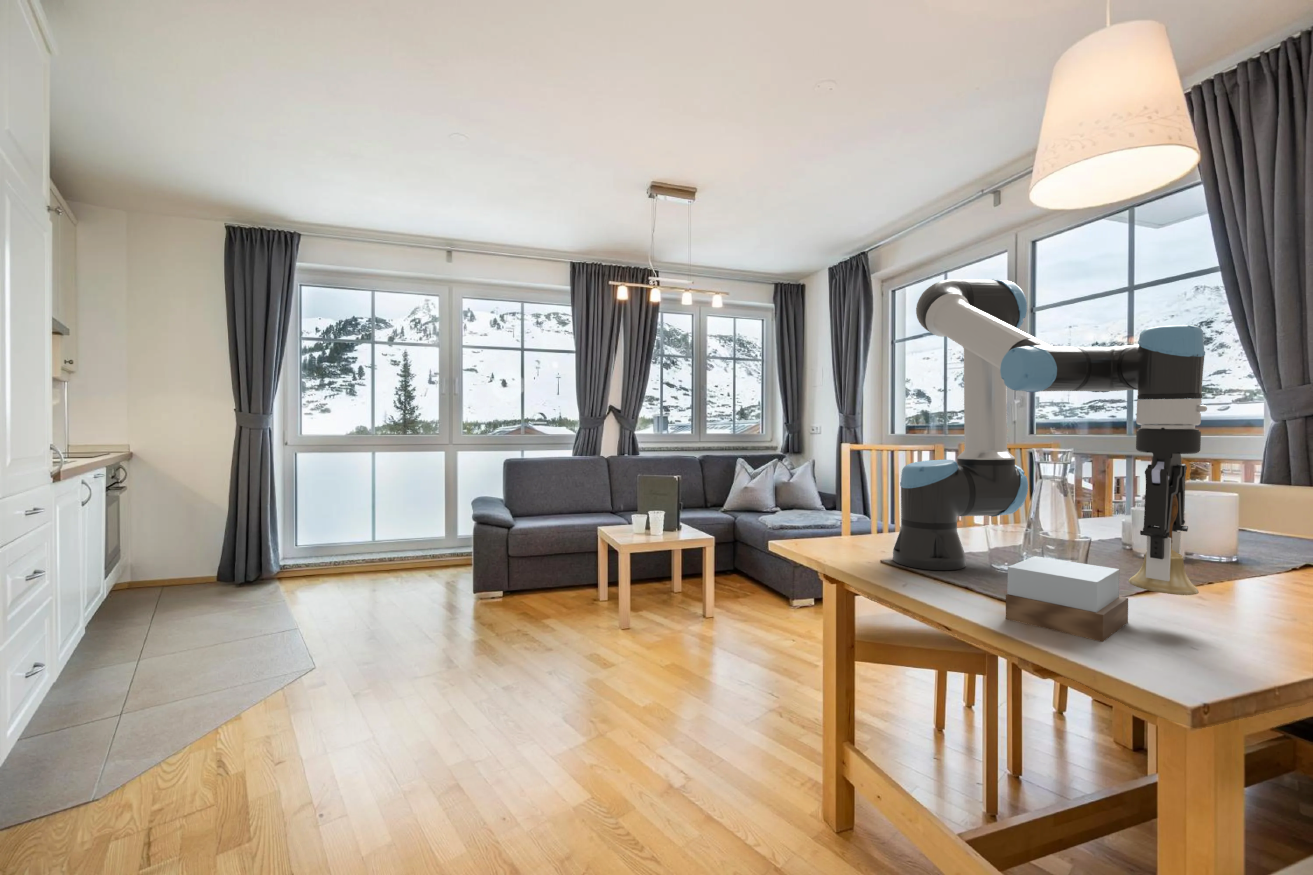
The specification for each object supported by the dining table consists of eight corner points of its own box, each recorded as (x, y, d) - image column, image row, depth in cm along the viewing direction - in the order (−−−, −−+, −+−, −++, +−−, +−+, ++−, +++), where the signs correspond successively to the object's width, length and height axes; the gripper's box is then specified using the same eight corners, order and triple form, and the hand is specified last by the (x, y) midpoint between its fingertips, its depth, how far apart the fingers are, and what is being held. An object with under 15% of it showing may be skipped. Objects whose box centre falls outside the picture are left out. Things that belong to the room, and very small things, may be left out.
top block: (1007, 594, 95) (1007, 566, 95) (1034, 581, 103) (1034, 556, 102) (1096, 612, 86) (1096, 582, 86) (1119, 596, 93) (1119, 569, 93)
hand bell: (1199, 586, 91) (1203, 485, 90) (1197, 599, 85) (1201, 491, 84) (1131, 576, 97) (1134, 481, 96) (1125, 587, 91) (1128, 486, 90)
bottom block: (1005, 622, 95) (1005, 594, 95) (1035, 606, 103) (1036, 580, 103) (1102, 645, 85) (1103, 614, 85) (1127, 625, 93) (1128, 597, 93)
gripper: (1186, 429, 81) (1181, 592, 82) (1213, 426, 93) (1207, 569, 94) (1119, 428, 87) (1115, 580, 88) (1152, 425, 99) (1148, 560, 100)
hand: (1162, 574), depth 91 cm, fingers closed on hand bell, 6 cm apart
